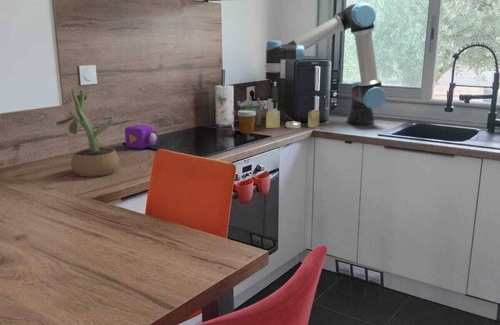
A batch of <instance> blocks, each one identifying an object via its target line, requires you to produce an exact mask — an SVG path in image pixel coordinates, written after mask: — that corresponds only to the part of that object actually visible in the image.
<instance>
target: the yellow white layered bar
mask: <svg viewBox="0 0 500 325" xmlns="http://www.w3.org/2000/svg"><path fill="white" fill-rule="evenodd" d="M307 113H308V114H307V118H308V119H307V128H315V127H319V126H320V110H319V109H312V110H308V112H307Z"/></svg>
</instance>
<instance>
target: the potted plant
mask: <svg viewBox="0 0 500 325" xmlns="http://www.w3.org/2000/svg"><path fill="white" fill-rule="evenodd" d="M70 90H71V94H72V99H73V102H74V104H75V105H74V107H75V112H76V114H77V116H78V117H77V116H76V115H75V114H73V113H72V112H71V111H69V112H68V114H69V115H70V117H68V118H65V119H63V120H59V121H57V122H56V124H55V125H56V126H59V125H64V124H67V123H69V122H70V121H72V122H71V123H70V124H69V126H68V131H69V133H70V134H74V135H77V132H78V131H77V130H78V123H79V124H80V125H81V126H82V128H84V131H85V134H86V137H87V139H88V146H89V147H87V148H86V147H85V148H81V149H78V150H77V149H76V150H75V151H74V152H73V155H72V157H71V161H70V167H71V170H72V172H74V174H75V175H77V176H79V175H80V177H83V176H87V177H86V178H95V177H98V176H99V177H105V176H109V175H112V174H114V173H115V172H116V171H117V170H119V166H120V156H119V155H118V153H117V152H116V150H115V149H114V148H112V147H109V146H108V147H106V146H105V147H104V146H100V144H99V143H100V142H99V139H98V138H97V136H98V135H99V134H101V133H102V132H104V131H105V130H107V129H108V128H109V127H110V126H111V124H112V123H113V121H114V118H115V114H114V112H112V114H111V116H110V117H104V116H102V121H106V120H108V121H107V122H105V123H104V124H103V125H102V126H100V127H98V128H97V129H96V130H95V129H94V127H93V126H92V124H91V123H90V121H89V118H88V117H86V114H85V113H84V112H83V109H84V103H85V101H86V100H87V98H88V97H87V96H86V94H85V92H84V91H83V90H79V92H78V93H79V94H78V95H77V93H76V88H71V89H70ZM104 175H105V176H104Z"/></svg>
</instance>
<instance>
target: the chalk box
mask: <svg viewBox="0 0 500 325" xmlns="http://www.w3.org/2000/svg"><path fill="white" fill-rule="evenodd" d="M249 99H250V103H244V104H243V110H254V111H255V112H256V116H255V123H254V126H255V125H262V121H261V118H262V116H261V114H262V113H261V109H262V108H261V107H262V106H261V104H260V103H253V101H252V98H249Z"/></svg>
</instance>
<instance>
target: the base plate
mask: <svg viewBox="0 0 500 325" xmlns="http://www.w3.org/2000/svg"><path fill="white" fill-rule="evenodd" d="M301 124H302V122H300V121H295V120H292V121H286V122H285V128H287V129H300V128H302V127H301V126H302V125H301Z"/></svg>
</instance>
